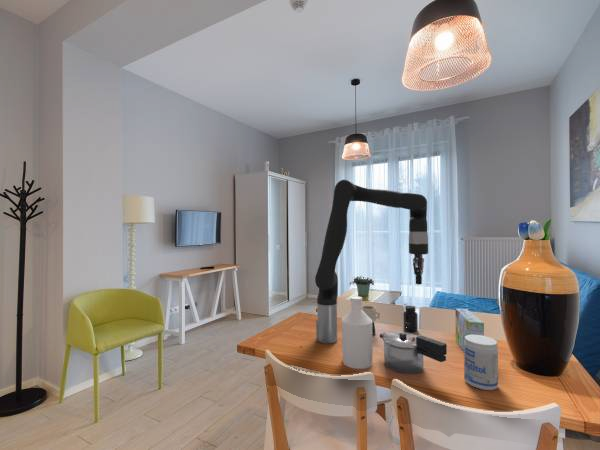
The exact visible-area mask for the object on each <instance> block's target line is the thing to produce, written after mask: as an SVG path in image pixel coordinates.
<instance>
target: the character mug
mask: <svg viewBox="0 0 600 450" xmlns="http://www.w3.org/2000/svg"><path fill="white" fill-rule="evenodd" d="M362 310H363V311H364V312H365V313H366V315H367V316H368V317H369V318H370V319H371V320H372V335H373V334H376V328H375V321H376V319H380V317H381V316H380V311H377V307H376V306H373V305H367V304H366V305H362Z"/></svg>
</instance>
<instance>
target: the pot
mask: <svg viewBox="0 0 600 450" xmlns="http://www.w3.org/2000/svg"><path fill="white" fill-rule="evenodd" d="M385 334H387V333H386V332H382V333H379V338H380V339H382V340H383V336H384V335H385ZM383 353H384V355H383V360H384V361H383V363H384V366H385V367H386V368H387V369H388V370H391V371H392V372H395V373H398V374H404V375H416V374H420V373H422V372H423V371H424V366H425V365H424V356H425V357H427V358H430V359H432V360H435V361H437V362H440V363H443V362H446V361H447V356H446V355H444V356H440V355H437V354H434V353H432V352H429V351H426V350H424V349H421V348H415V349H404V348H398V347H394V346H391V345H388V344H387V343H385V342H384V341H383Z"/></svg>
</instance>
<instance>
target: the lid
mask: <svg viewBox="0 0 600 450" xmlns="http://www.w3.org/2000/svg"><path fill="white" fill-rule="evenodd" d="M382 340H383V343H384V342H385V343H387V344H388V345H391V346H394V347H398V348H404V349H415V348H421V349H424V350H426V351H429V352H432V353H434V354H437V355H440V356H446V355H448V354H447V353H448V352H447V351H448V350H447V345H448V344H447V343H445V342H442V341H439V340H436V339H433V338H430V337H427V336H424V335H416V334H414V333H411V332H402V331H396V332H395V331H394V332H393V331H392V332H391V331H390V332H387V333H386V334H385V335H384V336H383V339H382Z"/></svg>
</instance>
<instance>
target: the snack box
mask: <svg viewBox="0 0 600 450" xmlns="http://www.w3.org/2000/svg"><path fill="white" fill-rule="evenodd" d="M466 335H482V336H485V323H484V322H483V321H482V320H481V319H480V318H478V317H477V315H475V314H473V313H472V312H471V311H470V310H469V309H467V308H455V341H456V343H457V344H458V345H459V347H460V348H461V350H462V351H463V352H464V340H465V336H466Z"/></svg>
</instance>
